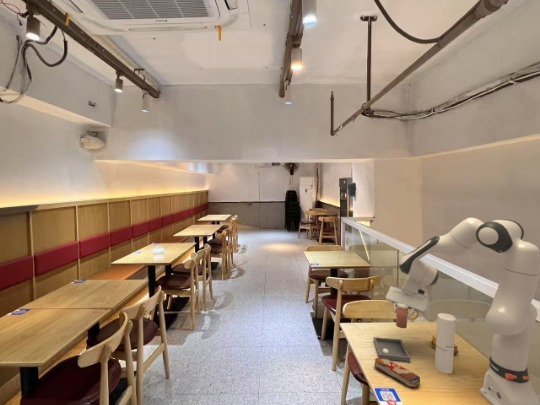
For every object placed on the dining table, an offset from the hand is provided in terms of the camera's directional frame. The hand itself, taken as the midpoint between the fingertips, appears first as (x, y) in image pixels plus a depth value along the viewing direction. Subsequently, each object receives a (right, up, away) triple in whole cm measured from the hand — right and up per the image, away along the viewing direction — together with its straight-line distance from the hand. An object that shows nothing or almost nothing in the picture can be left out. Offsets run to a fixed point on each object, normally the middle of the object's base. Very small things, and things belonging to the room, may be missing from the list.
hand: (401, 314), depth 147 cm
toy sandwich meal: (+26, -20, +7) cm, 33 cm away
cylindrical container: (+15, -21, -10) cm, 28 cm away
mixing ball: (-8, -18, -1) cm, 20 cm away
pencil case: (-9, -22, -15) cm, 28 cm away
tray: (-4, -20, +3) cm, 21 cm away
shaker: (0, -6, +1) cm, 6 cm away
